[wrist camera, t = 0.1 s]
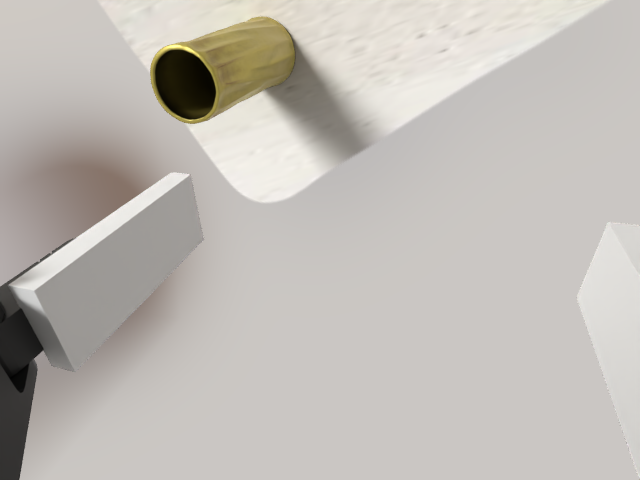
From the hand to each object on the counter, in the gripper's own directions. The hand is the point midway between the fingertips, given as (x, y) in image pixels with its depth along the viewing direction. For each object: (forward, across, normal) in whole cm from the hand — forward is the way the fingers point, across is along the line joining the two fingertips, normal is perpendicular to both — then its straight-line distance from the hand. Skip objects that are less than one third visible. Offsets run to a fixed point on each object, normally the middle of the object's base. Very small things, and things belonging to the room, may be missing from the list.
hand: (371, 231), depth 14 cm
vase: (+28, -15, +1) cm, 32 cm away
